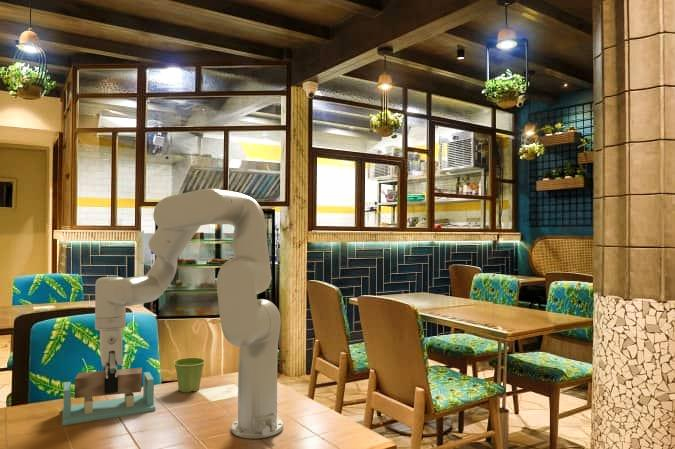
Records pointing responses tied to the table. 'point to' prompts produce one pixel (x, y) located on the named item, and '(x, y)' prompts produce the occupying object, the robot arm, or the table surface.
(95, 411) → the peg stand
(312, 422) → the table surface
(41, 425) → the table surface
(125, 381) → the brown wooden block
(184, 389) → the plant pot
